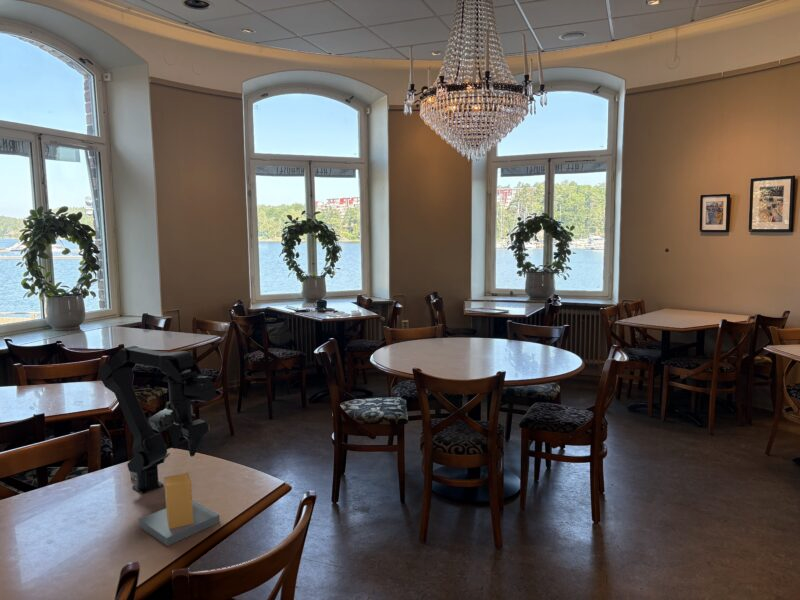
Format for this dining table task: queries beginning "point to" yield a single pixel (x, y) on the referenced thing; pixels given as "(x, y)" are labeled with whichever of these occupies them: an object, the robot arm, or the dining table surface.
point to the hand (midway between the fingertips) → (183, 452)
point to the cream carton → (178, 500)
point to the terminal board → (160, 530)
